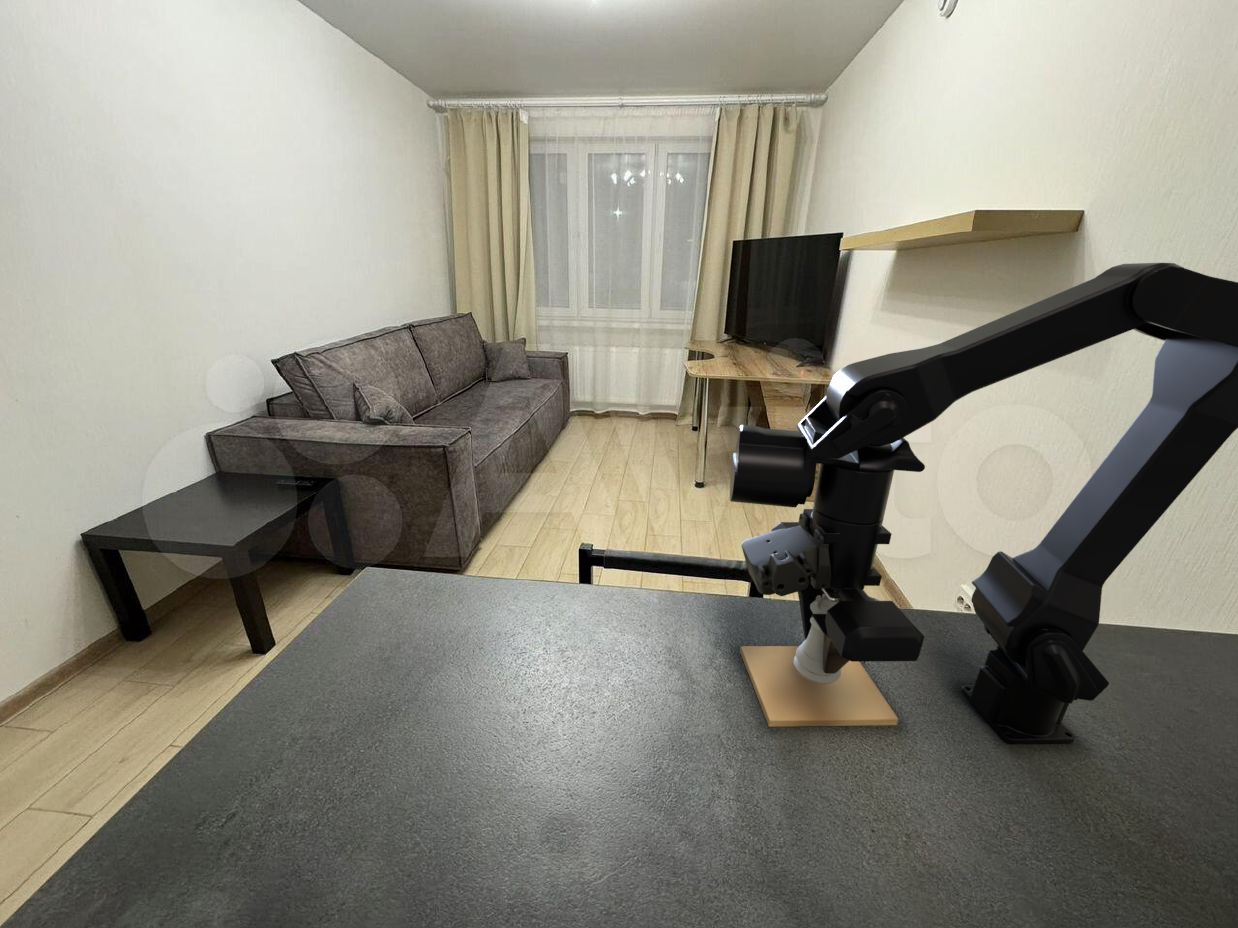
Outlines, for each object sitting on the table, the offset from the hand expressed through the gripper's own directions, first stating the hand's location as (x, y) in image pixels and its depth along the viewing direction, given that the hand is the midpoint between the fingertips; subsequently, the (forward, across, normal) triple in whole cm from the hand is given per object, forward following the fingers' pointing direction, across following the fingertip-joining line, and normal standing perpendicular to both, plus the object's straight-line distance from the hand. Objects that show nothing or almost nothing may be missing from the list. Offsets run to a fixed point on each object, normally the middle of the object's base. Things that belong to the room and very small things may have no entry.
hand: (819, 655), depth 51 cm
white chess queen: (+2, 0, 0) cm, 2 cm away
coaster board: (+4, 0, 0) cm, 4 cm away
